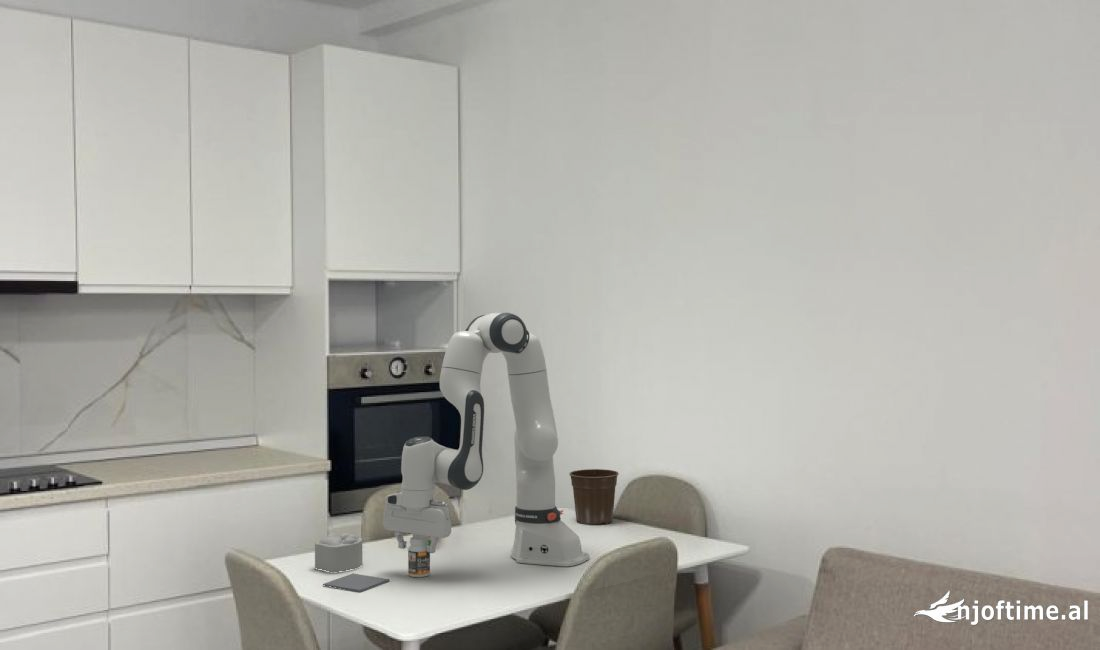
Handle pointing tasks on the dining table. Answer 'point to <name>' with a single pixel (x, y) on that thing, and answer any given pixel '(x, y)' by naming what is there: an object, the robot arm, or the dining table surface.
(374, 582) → the coaster
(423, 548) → the pill bottle
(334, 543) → the lumpy-topped squat cylinder
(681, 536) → the dining table surface
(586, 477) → the plant pot
